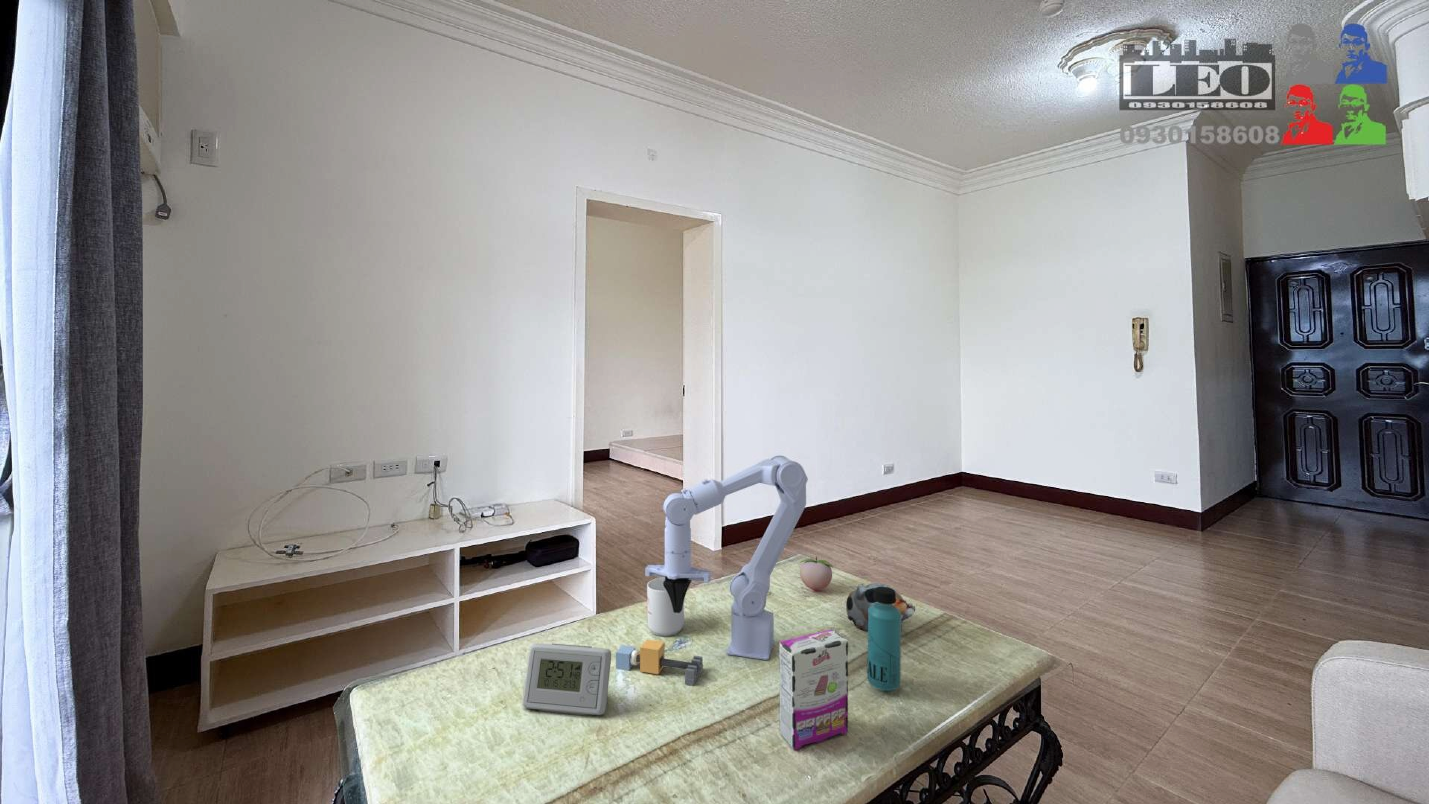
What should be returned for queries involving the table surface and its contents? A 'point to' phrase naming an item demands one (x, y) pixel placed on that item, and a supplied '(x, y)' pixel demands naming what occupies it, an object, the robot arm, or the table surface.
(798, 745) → the candy bar box
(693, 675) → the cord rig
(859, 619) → the grey black rounded piece
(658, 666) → the sleeve
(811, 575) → the decorative fruit
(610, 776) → the table surface
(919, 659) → the table surface
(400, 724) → the table surface
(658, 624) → the mug
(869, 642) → the beverage bottle
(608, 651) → the digital clock
